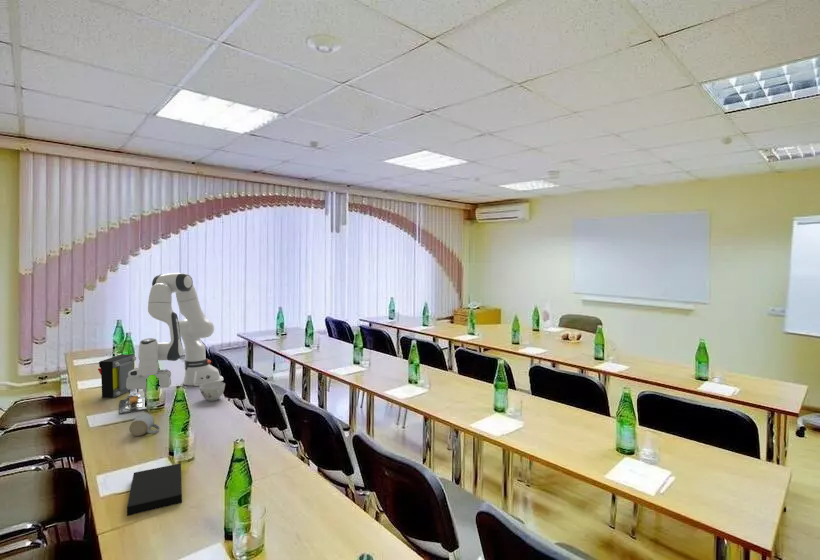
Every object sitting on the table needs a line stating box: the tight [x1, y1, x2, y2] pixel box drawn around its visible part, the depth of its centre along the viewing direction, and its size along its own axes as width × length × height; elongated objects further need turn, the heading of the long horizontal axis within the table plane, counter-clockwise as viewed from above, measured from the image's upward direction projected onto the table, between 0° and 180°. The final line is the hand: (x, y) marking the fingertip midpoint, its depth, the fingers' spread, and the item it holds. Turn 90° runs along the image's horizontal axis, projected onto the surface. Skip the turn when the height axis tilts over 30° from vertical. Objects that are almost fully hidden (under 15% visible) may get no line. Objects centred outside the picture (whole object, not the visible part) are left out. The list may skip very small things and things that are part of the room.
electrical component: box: [97, 353, 137, 399], centre depth 239 cm, size 18×10×20 cm, turn 179°
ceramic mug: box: [129, 412, 161, 437], centre depth 184 cm, size 11×8×8 cm
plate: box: [118, 396, 148, 415], centre depth 218 cm, size 12×22×1 cm, turn 33°
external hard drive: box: [126, 463, 183, 517], centre depth 138 cm, size 14×23×3 cm, turn 29°
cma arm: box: [128, 389, 140, 404], centre depth 223 cm, size 25×4×3 cm, turn 33°
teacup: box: [199, 381, 226, 402], centre depth 228 cm, size 15×12×8 cm
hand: (149, 396), depth 221 cm, fingers closed
